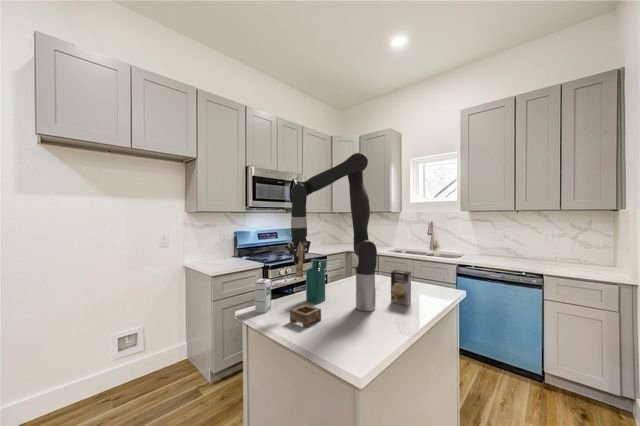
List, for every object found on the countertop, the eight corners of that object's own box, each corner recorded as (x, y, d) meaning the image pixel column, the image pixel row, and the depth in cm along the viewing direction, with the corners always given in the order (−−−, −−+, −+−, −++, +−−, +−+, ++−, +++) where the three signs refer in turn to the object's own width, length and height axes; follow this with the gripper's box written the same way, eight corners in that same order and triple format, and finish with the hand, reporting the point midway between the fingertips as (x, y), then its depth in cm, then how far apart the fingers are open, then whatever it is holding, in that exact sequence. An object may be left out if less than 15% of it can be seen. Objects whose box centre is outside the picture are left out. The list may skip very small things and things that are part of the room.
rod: (299, 275, 127) (299, 241, 127) (304, 276, 124) (304, 242, 125) (294, 276, 124) (293, 242, 124) (299, 277, 122) (299, 243, 122)
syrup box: (266, 312, 124) (266, 281, 124) (254, 312, 125) (254, 281, 125) (271, 308, 130) (271, 278, 130) (259, 307, 131) (259, 278, 131)
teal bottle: (304, 301, 141) (304, 259, 141) (314, 296, 148) (313, 257, 148) (319, 304, 135) (319, 261, 135) (328, 300, 142) (328, 259, 142)
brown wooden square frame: (305, 315, 121) (304, 304, 121) (321, 320, 115) (320, 309, 115) (290, 322, 113) (290, 310, 113) (306, 328, 107) (306, 315, 107)
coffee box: (390, 302, 137) (390, 271, 138) (393, 299, 143) (393, 269, 143) (408, 305, 133) (408, 273, 133) (411, 302, 138) (411, 271, 138)
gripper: (293, 227, 117) (294, 267, 116) (315, 226, 127) (315, 262, 127) (282, 227, 121) (282, 265, 121) (303, 226, 132) (304, 260, 132)
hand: (299, 263), depth 124 cm, fingers closed on rod, 3 cm apart
